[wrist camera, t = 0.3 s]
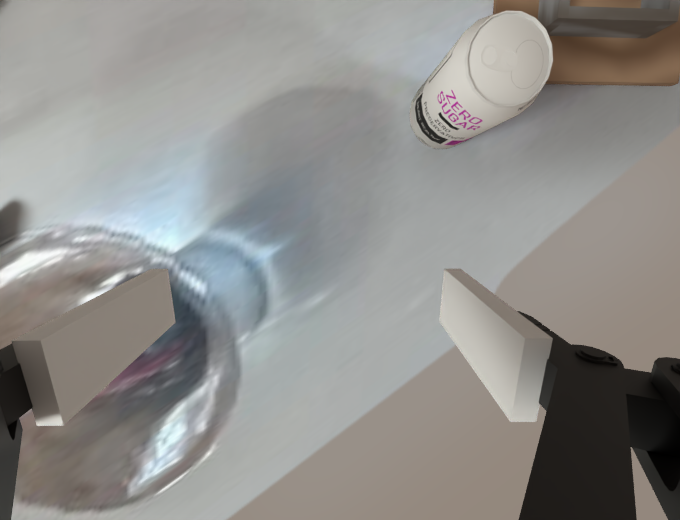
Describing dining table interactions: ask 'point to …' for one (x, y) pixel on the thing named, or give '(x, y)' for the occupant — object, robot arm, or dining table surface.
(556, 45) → the collar board
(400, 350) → the dining table surface
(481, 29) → the supplement can
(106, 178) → the dining table surface
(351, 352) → the dining table surface
